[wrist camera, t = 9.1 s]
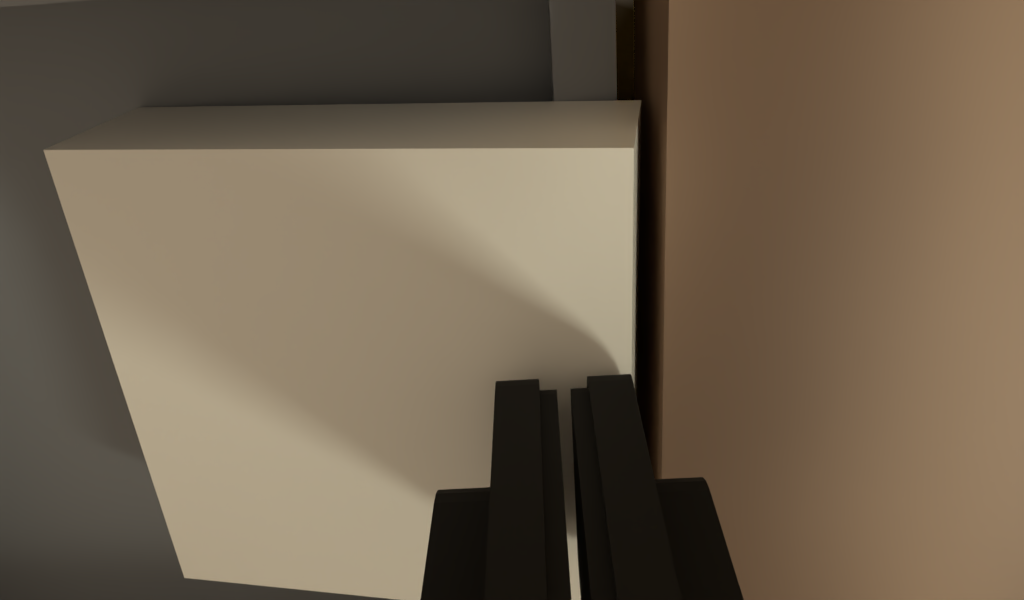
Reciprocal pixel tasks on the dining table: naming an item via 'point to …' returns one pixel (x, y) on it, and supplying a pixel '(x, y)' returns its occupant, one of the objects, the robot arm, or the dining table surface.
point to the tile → (349, 311)
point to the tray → (186, 83)
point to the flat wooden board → (838, 287)
